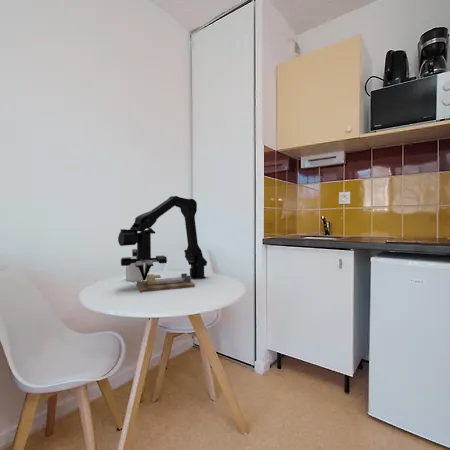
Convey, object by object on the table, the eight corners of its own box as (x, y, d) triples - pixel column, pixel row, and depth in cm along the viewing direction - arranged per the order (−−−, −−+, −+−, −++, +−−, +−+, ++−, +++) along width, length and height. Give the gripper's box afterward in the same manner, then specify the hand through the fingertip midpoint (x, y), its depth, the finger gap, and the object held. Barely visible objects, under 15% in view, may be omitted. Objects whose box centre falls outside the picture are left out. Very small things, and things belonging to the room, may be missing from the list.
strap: (184, 279, 130) (184, 277, 130) (187, 281, 126) (187, 278, 126) (154, 282, 124) (154, 279, 124) (155, 284, 121) (155, 281, 121)
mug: (153, 279, 138) (153, 257, 138) (130, 282, 130) (130, 259, 130) (146, 276, 144) (146, 255, 144) (123, 279, 137) (123, 257, 136)
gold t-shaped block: (159, 281, 126) (159, 273, 126) (161, 283, 121) (161, 275, 121) (146, 282, 124) (146, 274, 124) (148, 284, 119) (148, 276, 119)
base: (185, 280, 136) (185, 271, 136) (194, 286, 122) (194, 277, 122) (136, 284, 127) (136, 275, 127) (140, 292, 113) (140, 282, 113)
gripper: (162, 242, 131) (162, 275, 132) (120, 243, 124) (120, 278, 125) (167, 244, 121) (167, 279, 122) (121, 245, 114) (121, 283, 114)
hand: (144, 280), depth 121 cm, fingers closed
